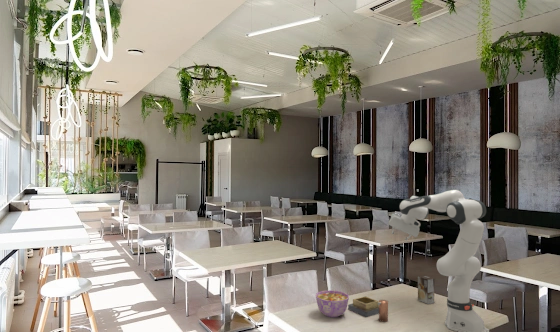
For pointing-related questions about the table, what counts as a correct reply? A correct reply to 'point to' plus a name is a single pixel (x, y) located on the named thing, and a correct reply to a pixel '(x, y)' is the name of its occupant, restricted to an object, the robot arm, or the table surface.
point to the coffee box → (426, 289)
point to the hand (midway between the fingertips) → (399, 236)
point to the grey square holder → (364, 306)
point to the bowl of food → (332, 302)
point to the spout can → (383, 310)
